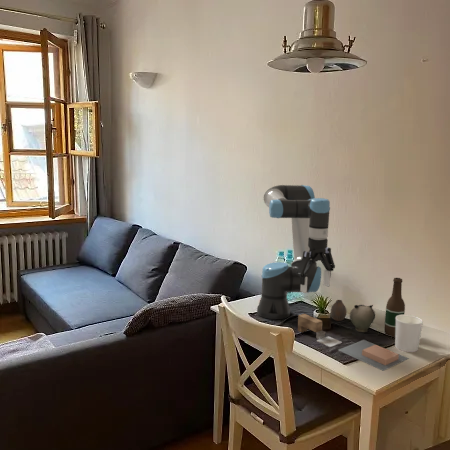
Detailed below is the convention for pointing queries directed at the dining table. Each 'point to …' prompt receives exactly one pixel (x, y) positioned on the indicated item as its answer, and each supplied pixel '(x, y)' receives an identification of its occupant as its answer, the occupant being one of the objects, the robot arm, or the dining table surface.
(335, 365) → the dining table surface
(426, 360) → the dining table surface
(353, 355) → the mat
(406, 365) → the dining table surface
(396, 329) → the white cup
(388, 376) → the dining table surface
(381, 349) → the tan rectangular bar
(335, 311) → the vase
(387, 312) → the beer bottle
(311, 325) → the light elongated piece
